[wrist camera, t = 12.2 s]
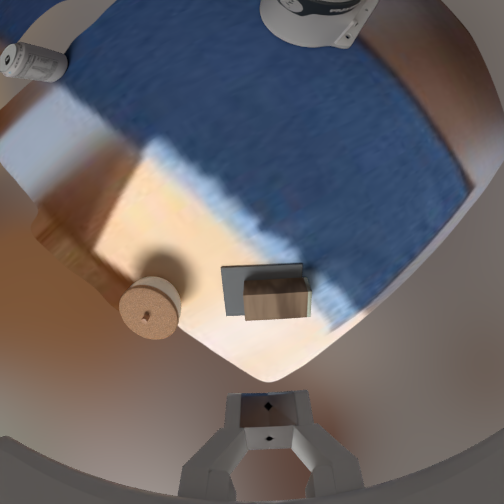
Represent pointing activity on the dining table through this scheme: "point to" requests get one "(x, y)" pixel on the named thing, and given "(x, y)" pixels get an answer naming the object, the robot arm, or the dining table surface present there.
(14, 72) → the energy drink can
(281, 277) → the felt mat
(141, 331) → the lidded jar
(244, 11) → the dining table surface
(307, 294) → the walnut block
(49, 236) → the dining table surface
